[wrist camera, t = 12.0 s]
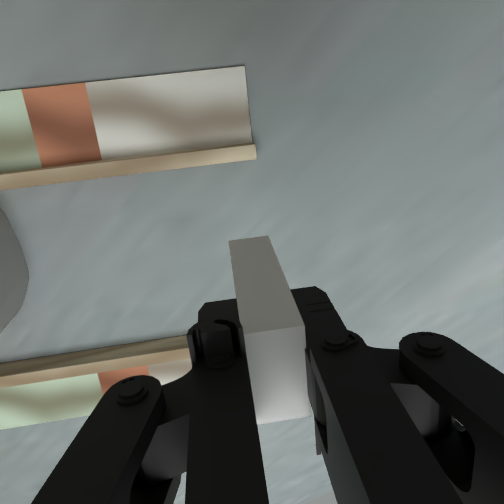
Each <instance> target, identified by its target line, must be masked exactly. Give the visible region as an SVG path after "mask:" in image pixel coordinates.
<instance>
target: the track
mask: <svg viewBox="0 0 504 504" xmlns="http://www.w3.org/2000/svg"><path fill="white" fill-rule="evenodd" d="M253 159H257V158H256V148H255V144H254V143H252V136H251V126H250V116H249V106H248V96H247V86H246V76H245V66H239V67H230V68H220V69H211V70H201V71H191V72H182V73H172V74H163V75H153V76H144V77H134V78H125V79H115V80H105V81H96V82H86V83H77V84H67V85H58V86H48V87H38V88H29V89H19V90H10V91H0V190H6V189H15V188H23V187H31V186H39V185H47V184H56V183H64V182H72V181H80V180H89V179H97V178H105V177H113V176H121V175H130V174H138V173H146V172H154V171H162V170H171V169H179V168H187V167H195V166H203V165H212V164H220V163H228V162H236V161H244V160H253ZM191 369H192V363H191V358H190V352H189V347H188V342H187V336H186V335H184V336H177V337H171V338H164V339H158V340H151V341H144V342H138V343H131V344H125V345H118V346H111V347H105V348H98V349H92V350H85V351H79V352H72V353H65V354H59V355H52V356H46V357H39V358H33V359H26V360H19V361H13V362H6V363H0V430H2V429H8V428H14V427H20V426H26V425H32V424H38V423H44V422H50V421H56V420H63V419H69V418H75V417H81V416H87V415H90V414H91V413H92V411H93V410H94V408H95V407H96V405H97V404H98V402H99V401H100V399H101V398H102V396H103V395H104V393H105V392H106V391H107V390H108V389H109V388H110V387H111V386H112V385H114V384H115V383H117V382H119V381H120V380H123V379H125V378H128V377H131V376H137V375H148V376H153V377H155V378H156V379H158V380H159V381H160V383H161V385H164V384H167V383H169V382H172V381H174V380H176V379H179V378H181V377H182V376H184V375H185V374H187V373H188V372H189V371H190V370H191Z"/></svg>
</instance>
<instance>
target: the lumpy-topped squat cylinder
mask: <svg viewBox="0 0 504 504" xmlns="http://www.w3.org/2000/svg"><path fill="white" fill-rule="evenodd" d="M28 281H29V273H28V268H27V264H26V261H25V258H24V255H23V252H22V249H21V246H20V243H19V241H18V239H17V236H16V234H15V232H14V230H13V228H12V226H11V224H10V222H9V220H8V218H7V217H6V215H5V214H4V212H3V211H2V210H1V208H0V333H1V331H2V330H3V329H4V328H5V327H6V326H7V324H8V323H9V322H10V321H11V320H12V319H13V317H14V316H15V315H16V314H17V313H18V311H19V310H20V308H21V306H22V304H23V301H24V298H25V295H26V291H27V286H28Z"/></svg>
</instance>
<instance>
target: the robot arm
mask: <svg viewBox="0 0 504 504" xmlns="http://www.w3.org/2000/svg"><path fill="white" fill-rule="evenodd" d="M229 248H230V255H231V262H232V270H233V277H234V285H235V292H236V299H229V300H221V301H214V302H207V303H205V304H204V305H203V306H202V308H201V309H200V310H199V312H198V323H196V324H195V325H193V326H192V327H191V328H190V329H189V330H188V333H187V335H186V336H187V342H188V347H189V352H190V358H191V363H192V369H191V370H190V371H189V372H188V373H187V374H185V375H184V376H182V377H181V378H179V379H176V380H174V381H172V382H169V383H167V384H164V385H161V383H160V381H159V380H158V379H156V378H155V377H153V376H148V375H137V376H131V377H128V378H125V379H123V380H120V381H119V382H117V383H115V384H114V385H112V386H111V387H110V388H109V389H108V390H107V391H106V392H105V393H104V395H103V396H102V398H101V399H100V401H99V402H98V404H97V405H96V407H95V408H94V410H93V411H92V413H91V414H90V416H89V417H88V419H87V420H86V422H85V423H84V425H83V426H82V428H81V429H80V431H79V432H78V434H77V435H76V437H75V438H74V440H73V441H72V443H71V444H70V446H69V447H68V449H67V450H66V452H65V453H64V455H63V456H62V458H61V459H60V461H59V462H58V464H57V465H56V467H55V468H54V470H53V471H52V473H51V474H50V476H49V477H48V479H47V480H46V482H45V483H44V485H43V486H42V488H41V489H40V491H39V492H38V494H37V495H36V497H35V498H34V500H33V501H32V503H31V504H173V503H174V500H175V497H176V494H177V491H178V488H179V485H180V481H181V474H182V473H184V472H186V471H187V474H186V494H185V504H269V500H268V493H267V487H266V480H265V474H264V467H263V460H262V454H261V447H260V441H259V434H258V427H257V425H259V424H265V423H271V422H278V421H284V420H291V419H297V418H303V417H310V416H311V408H310V404H311V407H312V410H313V413H314V420H315V435H316V450H317V455H319V454H321V452H322V455H323V458H324V461H325V465H326V468H327V471H328V474H329V477H330V481H331V484H332V487H333V490H334V493H335V497H336V500H337V503H338V504H504V374H503V373H501V372H500V371H498V370H497V369H495V368H494V367H492V366H491V365H489V364H488V363H486V362H485V361H483V360H482V359H480V358H479V357H477V356H476V355H474V354H473V353H471V352H470V351H468V350H467V349H466V348H464V347H463V346H461V345H460V344H458V343H457V342H455V341H454V340H452V339H450V338H448V337H446V336H444V335H440V334H436V333H432V332H417V333H411V334H409V335H407V336H405V337H403V338H402V340H401V341H400V342H399V349H382V348H373V347H370V346H367V345H366V344H365V342H364V340H363V339H362V338H361V337H360V336H359V335H358V334H356V333H354V332H352V331H349V330H347V329H346V327H345V325H344V324H343V322H342V320H341V318H340V317H339V315H338V313H337V311H336V310H335V309H334V306H333V304H332V303H331V301H330V299H329V297H328V296H327V294H326V292H324V291H322V290H321V289H319V288H317V287H316V286H313V287H306V288H299V289H291V290H290V288H289V286H288V283H287V281H286V278H285V276H284V274H283V271H282V269H281V266H280V264H279V261H278V259H277V257H276V254H275V252H274V249H273V247H272V244H271V242H270V239H269V237H268V236H262V237H254V238H247V239H239V240H232V241H229ZM455 419H456V420H457V421H459V422H460V423H461V424H462V425H463V426H462V425H461V424H460V423H459V422H457V421H456V420H455Z"/></svg>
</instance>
